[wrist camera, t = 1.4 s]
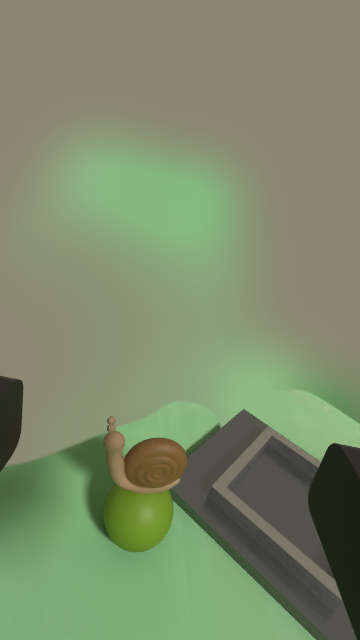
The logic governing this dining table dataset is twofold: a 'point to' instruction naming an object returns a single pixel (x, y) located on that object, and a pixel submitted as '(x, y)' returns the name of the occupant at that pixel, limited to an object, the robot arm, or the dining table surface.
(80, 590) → the dining table surface
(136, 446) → the snail figurine
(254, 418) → the tray
